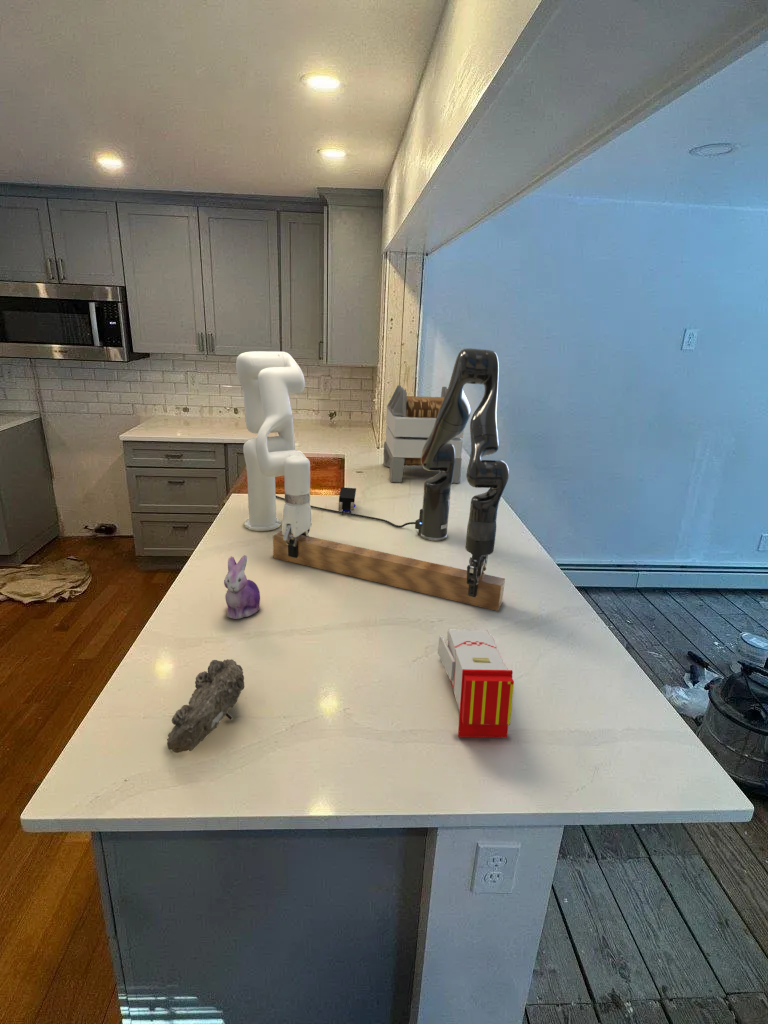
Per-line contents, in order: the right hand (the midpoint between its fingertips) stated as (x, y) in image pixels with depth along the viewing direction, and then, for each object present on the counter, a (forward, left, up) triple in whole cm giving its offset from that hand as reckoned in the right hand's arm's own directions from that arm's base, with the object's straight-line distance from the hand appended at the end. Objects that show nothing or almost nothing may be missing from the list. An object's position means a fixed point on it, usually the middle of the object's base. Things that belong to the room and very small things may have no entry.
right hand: (474, 591), depth 155 cm
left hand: (-55, -12, -1) cm, 56 cm away
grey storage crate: (-80, +99, -3) cm, 127 cm away
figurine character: (-72, +33, -3) cm, 79 cm away
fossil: (-18, -74, -3) cm, 76 cm away
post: (-28, -6, -3) cm, 28 cm away
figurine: (-44, -44, -3) cm, 62 cm away
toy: (+17, -36, -3) cm, 40 cm away
